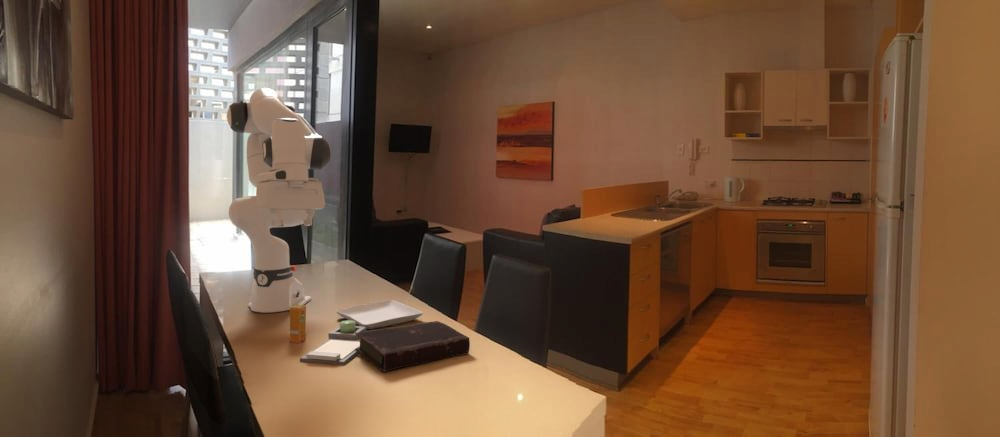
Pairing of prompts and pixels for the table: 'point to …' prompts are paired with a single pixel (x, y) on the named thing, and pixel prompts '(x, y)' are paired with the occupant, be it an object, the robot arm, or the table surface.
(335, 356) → the clipboard
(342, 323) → the button
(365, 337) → the diary
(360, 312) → the salad plate
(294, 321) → the supplement box
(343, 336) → the button bezel
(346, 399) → the table surface
